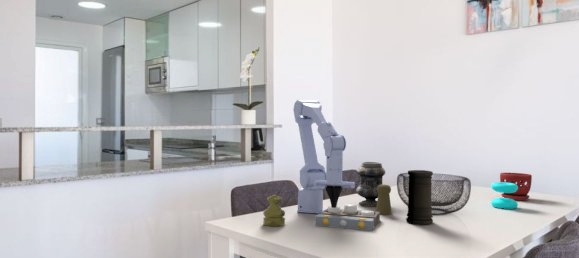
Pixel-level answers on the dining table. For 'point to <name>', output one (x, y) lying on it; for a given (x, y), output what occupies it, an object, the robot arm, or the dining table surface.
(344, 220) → the pattern card
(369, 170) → the apothecary jar
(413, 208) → the container
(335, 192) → the robot arm
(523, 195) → the plant pot
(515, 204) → the donuts
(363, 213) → the right button
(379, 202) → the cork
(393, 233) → the dining table surface
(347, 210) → the middle button
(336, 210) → the left button
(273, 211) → the olive green tiered piece
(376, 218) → the button board
